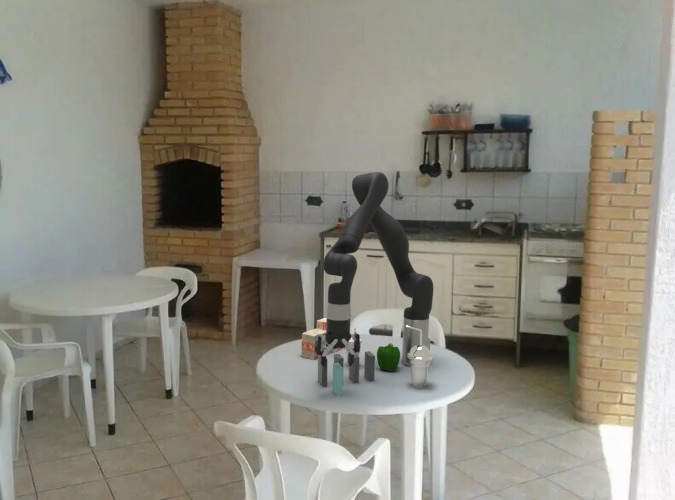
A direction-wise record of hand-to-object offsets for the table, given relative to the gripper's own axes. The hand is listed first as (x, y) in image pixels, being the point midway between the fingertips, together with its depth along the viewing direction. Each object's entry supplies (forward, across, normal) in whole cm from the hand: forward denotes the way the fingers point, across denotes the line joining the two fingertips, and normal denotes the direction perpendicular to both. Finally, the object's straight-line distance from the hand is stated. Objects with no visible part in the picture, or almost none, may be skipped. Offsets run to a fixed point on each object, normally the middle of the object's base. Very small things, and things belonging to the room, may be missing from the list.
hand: (337, 366), depth 203 cm
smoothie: (+9, -13, -24) cm, 29 cm away
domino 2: (+9, -3, -9) cm, 13 cm away
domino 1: (+9, +2, -9) cm, 13 cm away
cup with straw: (+9, -28, 0) cm, 30 cm away
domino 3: (+9, 0, 0) cm, 9 cm away
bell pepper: (+9, -24, -17) cm, 31 cm away
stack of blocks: (+9, -8, -42) cm, 43 cm away
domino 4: (+9, -9, -9) cm, 15 cm away
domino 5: (+9, -14, -9) cm, 19 cm away
